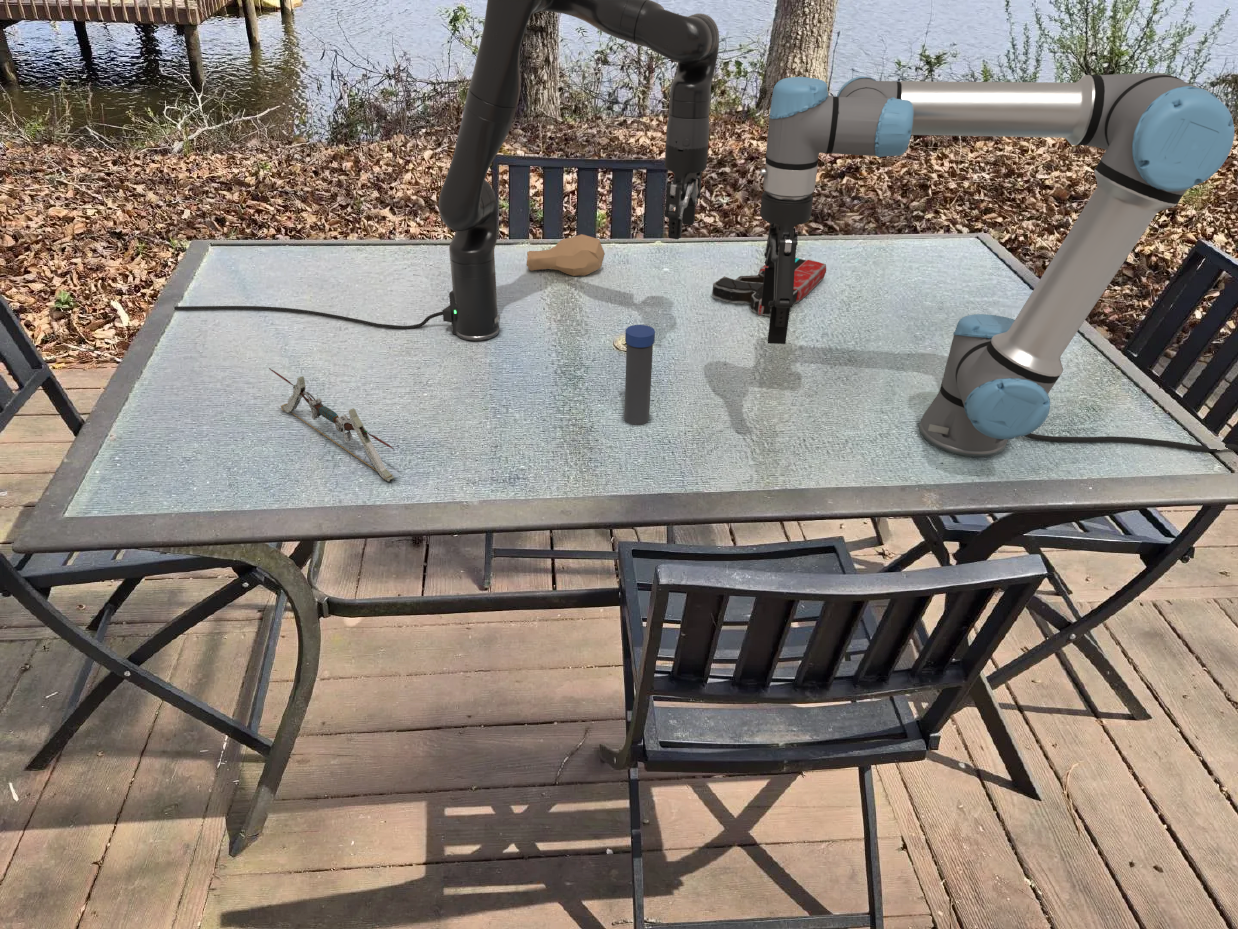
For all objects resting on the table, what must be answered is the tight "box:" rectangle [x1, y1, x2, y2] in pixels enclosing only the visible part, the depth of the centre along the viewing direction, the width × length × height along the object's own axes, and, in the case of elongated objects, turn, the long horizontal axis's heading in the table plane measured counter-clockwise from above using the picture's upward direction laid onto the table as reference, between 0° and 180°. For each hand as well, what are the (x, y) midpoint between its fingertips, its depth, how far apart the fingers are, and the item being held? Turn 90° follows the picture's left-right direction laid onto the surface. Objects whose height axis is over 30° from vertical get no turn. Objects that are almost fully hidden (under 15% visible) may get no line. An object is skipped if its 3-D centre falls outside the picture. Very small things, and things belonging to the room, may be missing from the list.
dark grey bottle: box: [623, 343, 654, 426], centre depth 159 cm, size 5×5×18 cm
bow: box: [269, 367, 396, 483], centre depth 151 cm, size 39×2×10 cm, turn 47°
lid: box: [624, 324, 656, 348], centre depth 154 cm, size 5×5×2 cm
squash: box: [526, 233, 606, 277], centre depth 222 cm, size 11×20×9 cm, turn 90°
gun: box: [711, 257, 827, 317], centre depth 215 cm, size 4×31×19 cm
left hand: (681, 231), depth 164 cm, fingers open, 8 cm apart
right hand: (772, 323), depth 141 cm, fingers open, 13 cm apart
